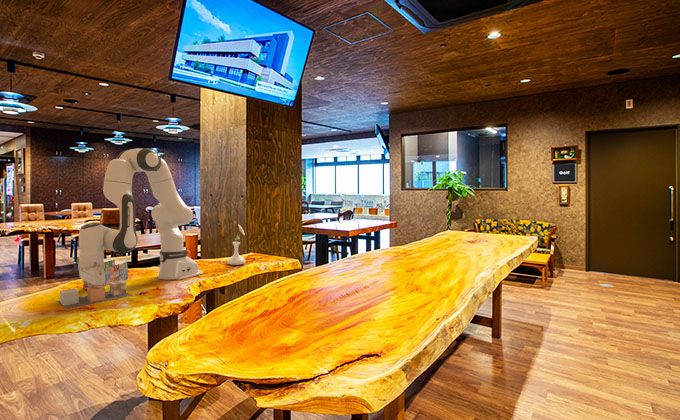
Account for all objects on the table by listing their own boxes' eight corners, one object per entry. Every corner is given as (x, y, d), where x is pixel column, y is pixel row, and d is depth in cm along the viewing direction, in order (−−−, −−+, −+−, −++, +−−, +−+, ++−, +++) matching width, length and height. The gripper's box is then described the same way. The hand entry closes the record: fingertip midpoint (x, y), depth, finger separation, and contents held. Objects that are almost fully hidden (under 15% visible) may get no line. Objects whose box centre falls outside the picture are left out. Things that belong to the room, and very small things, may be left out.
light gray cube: (74, 300, 152) (74, 288, 152) (78, 302, 149) (78, 290, 148) (60, 302, 148) (59, 290, 148) (63, 305, 145) (63, 293, 145)
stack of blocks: (117, 278, 189) (116, 255, 188) (128, 279, 188) (127, 255, 187) (83, 290, 167) (82, 263, 167) (95, 290, 167) (94, 264, 166)
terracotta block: (101, 296, 157) (100, 285, 157) (105, 299, 154) (104, 287, 153) (87, 299, 153) (87, 287, 153) (91, 302, 150) (90, 290, 150)
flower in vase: (239, 266, 221) (240, 226, 219) (223, 265, 223) (223, 225, 222) (250, 262, 233) (250, 223, 232) (234, 261, 236) (234, 223, 234)
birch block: (122, 290, 166) (121, 280, 165) (126, 293, 163) (126, 282, 162) (109, 293, 162) (109, 282, 162) (114, 295, 159) (113, 284, 158)
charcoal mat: (120, 290, 168) (120, 289, 168) (132, 296, 160) (132, 295, 160) (56, 302, 150) (56, 301, 150) (66, 310, 141) (66, 309, 141)
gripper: (109, 263, 152) (110, 295, 153) (91, 256, 165) (92, 286, 166) (92, 265, 147) (92, 299, 148) (75, 258, 160) (76, 289, 161)
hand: (92, 292), depth 157 cm, fingers closed
